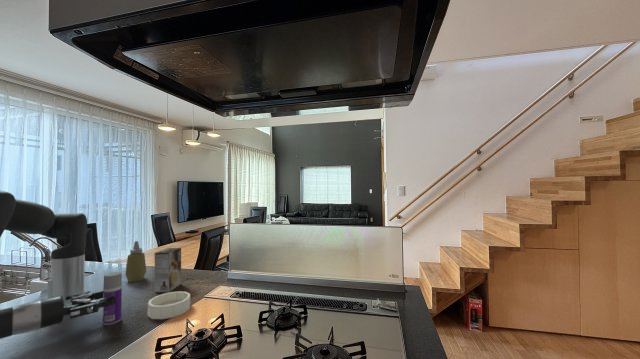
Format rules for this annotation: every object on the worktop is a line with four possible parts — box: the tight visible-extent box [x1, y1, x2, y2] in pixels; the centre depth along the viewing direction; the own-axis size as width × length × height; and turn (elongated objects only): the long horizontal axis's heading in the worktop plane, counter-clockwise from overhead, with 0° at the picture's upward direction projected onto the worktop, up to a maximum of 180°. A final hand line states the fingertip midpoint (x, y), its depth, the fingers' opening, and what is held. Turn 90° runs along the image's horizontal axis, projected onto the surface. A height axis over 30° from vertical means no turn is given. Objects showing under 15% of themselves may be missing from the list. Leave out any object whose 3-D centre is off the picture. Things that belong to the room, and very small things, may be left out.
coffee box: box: [154, 247, 182, 293], centre depth 113 cm, size 9×6×16 cm
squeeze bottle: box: [124, 240, 147, 283], centre depth 123 cm, size 8×8×18 cm
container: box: [102, 271, 123, 326], centre depth 85 cm, size 5×5×15 cm
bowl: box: [147, 290, 191, 320], centre depth 92 cm, size 13×13×4 cm
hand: (112, 296), depth 85 cm, fingers open, 8 cm apart
